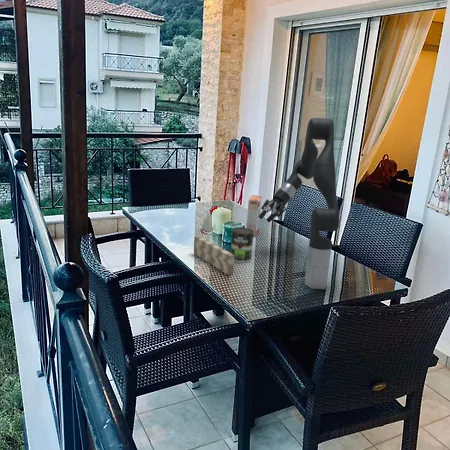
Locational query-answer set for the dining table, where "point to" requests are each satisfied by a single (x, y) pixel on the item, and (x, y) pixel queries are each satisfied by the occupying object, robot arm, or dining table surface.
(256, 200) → the cracker box
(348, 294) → the dining table surface
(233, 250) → the coffee can
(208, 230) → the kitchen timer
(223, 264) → the birch board
